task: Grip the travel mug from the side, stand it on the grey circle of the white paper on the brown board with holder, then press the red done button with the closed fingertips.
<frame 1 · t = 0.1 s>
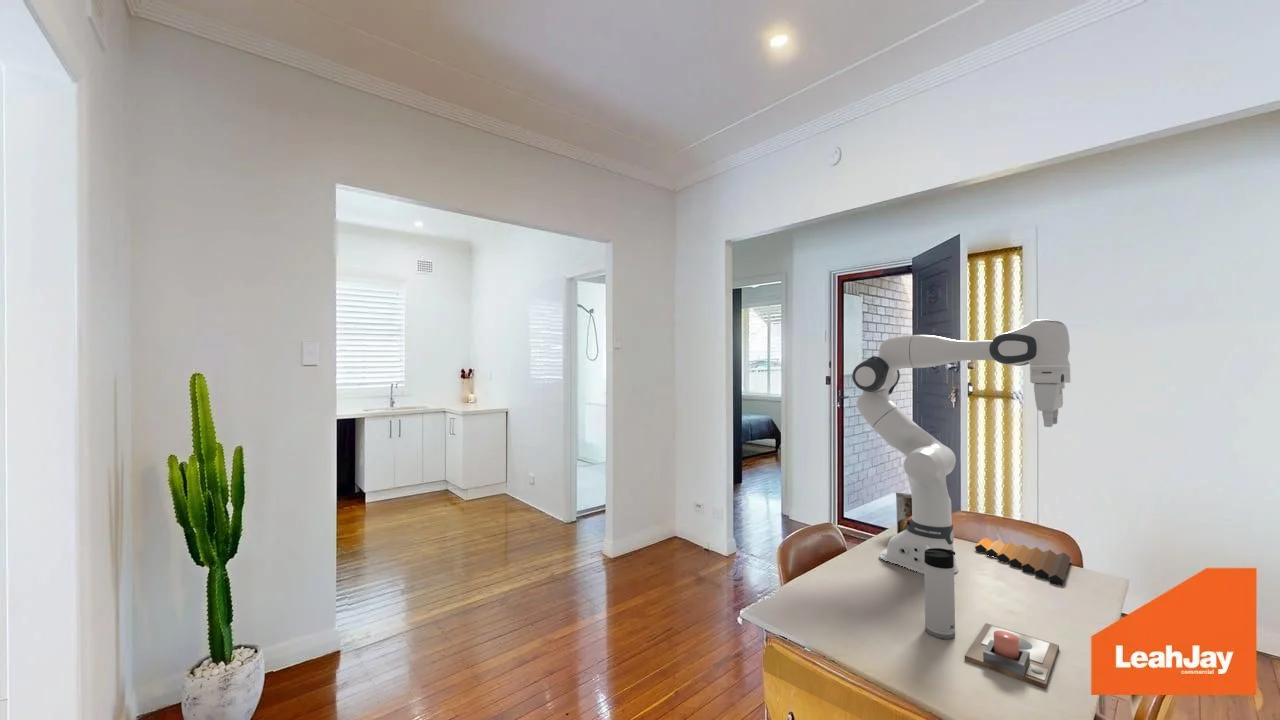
hand: (1050, 425, 141), 48 cm above the table, tool pointing down, fingers open, 8 cm apart
brown board with holder: (1012, 654, 112), on the table
travel mug: (940, 633, 121), on the table
pan flute: (1018, 565, 164), on the table
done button: (1006, 645, 107), point 5 cm above the table, slide at 0.0 cm
coffee box: (910, 538, 188), on the table
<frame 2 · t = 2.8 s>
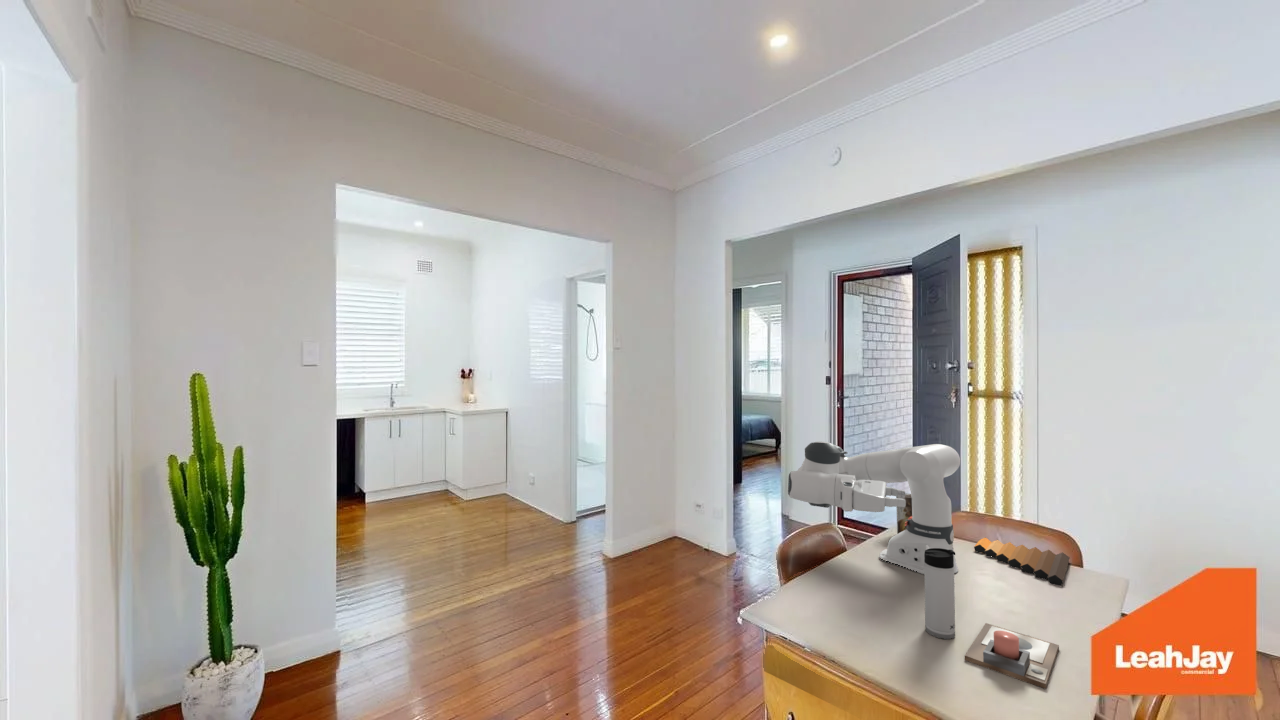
hand: (905, 498, 129), 31 cm above the table, tool horizontal, fingers open, 8 cm apart
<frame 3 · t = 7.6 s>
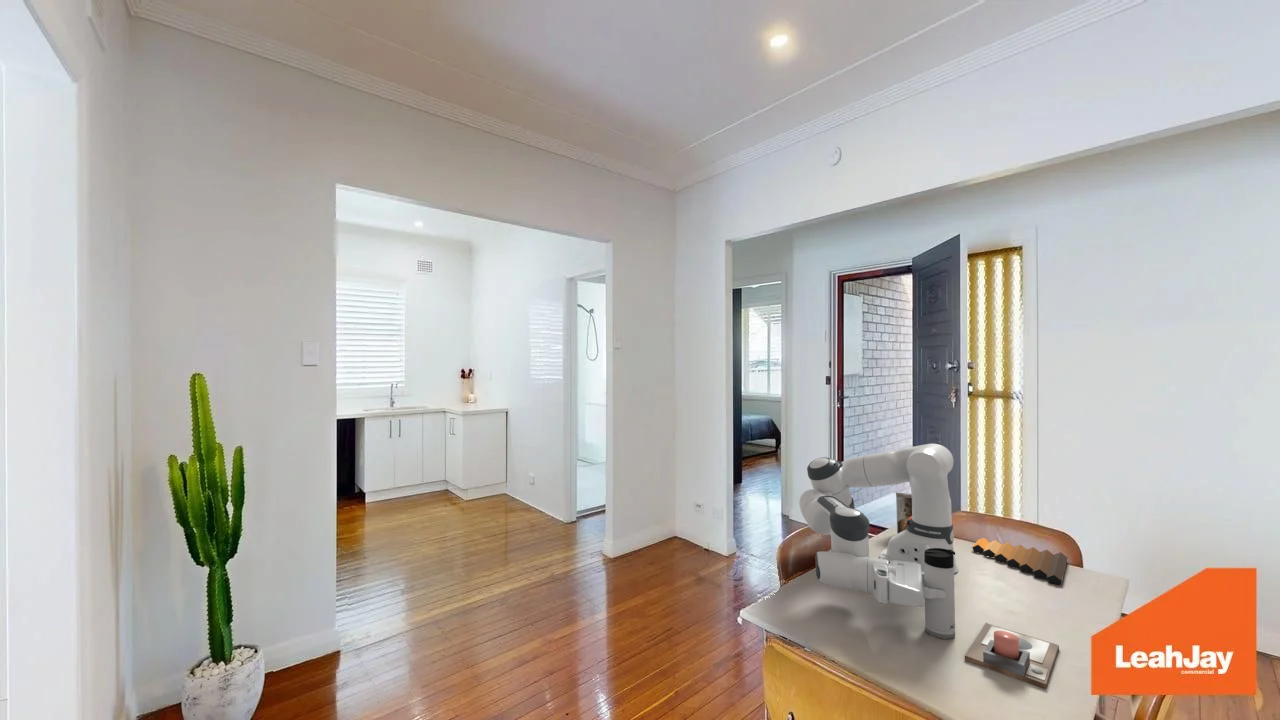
hand: (944, 587, 121), 11 cm above the table, tool horizontal, fingers closed on travel mug, 6 cm apart
travel mug: (940, 633, 121), on the table, touching gripper
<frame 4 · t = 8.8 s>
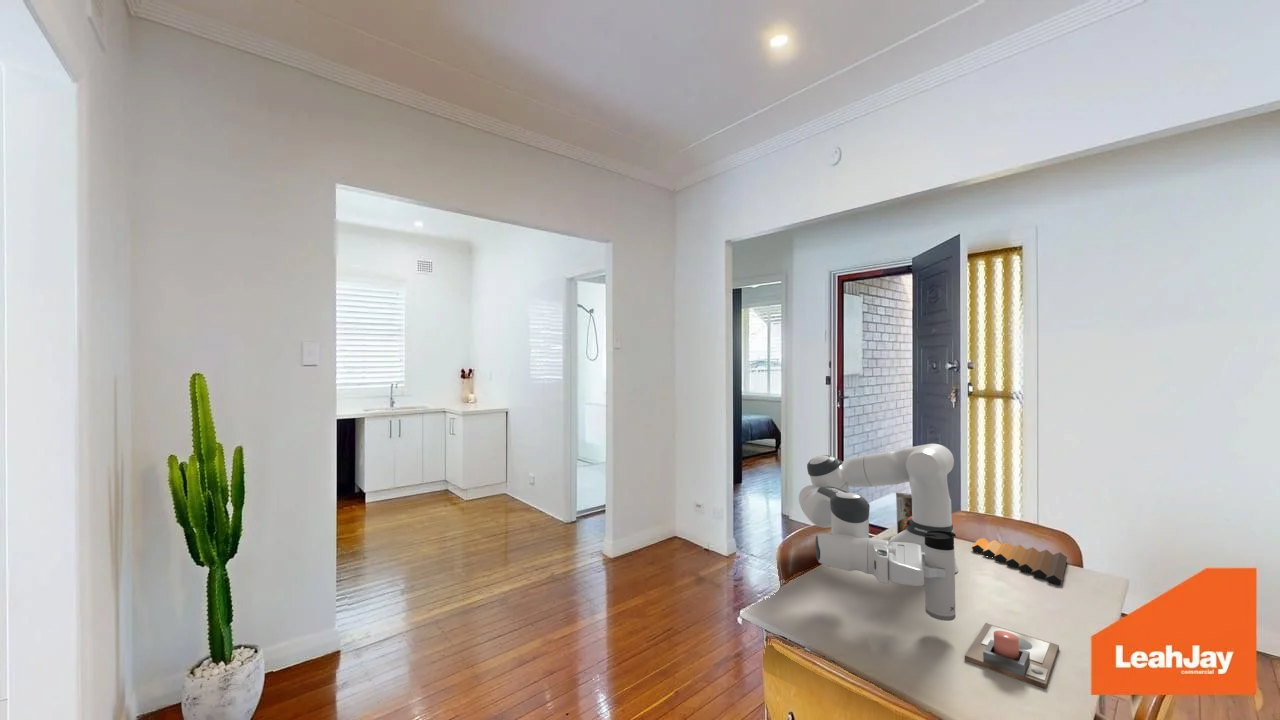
hand: (944, 567, 121), 16 cm above the table, tool horizontal, fingers closed on travel mug, 6 cm apart
travel mug: (941, 615, 121), point 4 cm above the table, touching gripper
when the fingers open (14 cm above the table, at t = 13.3 s): travel mug stays where it is, resting on brown board with holder.
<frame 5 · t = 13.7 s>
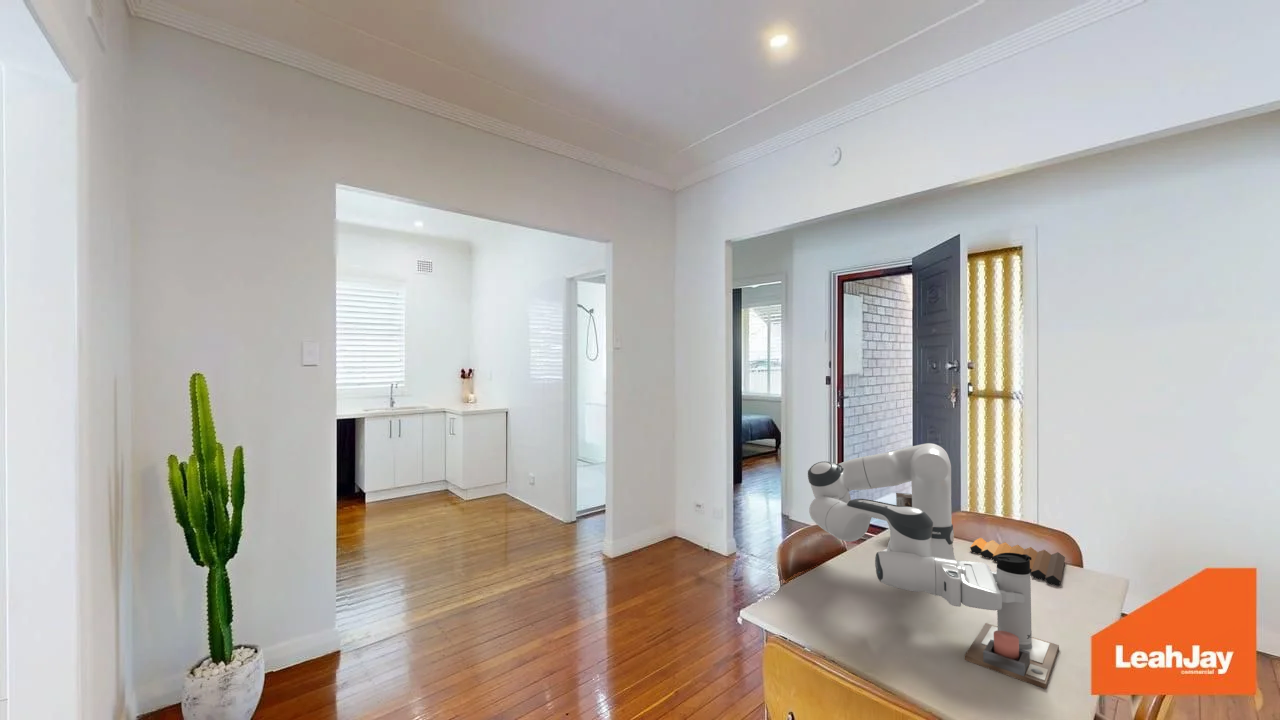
hand: (1019, 589, 114), 13 cm above the table, tool horizontal, fingers open, 8 cm apart
travel mug: (1015, 643, 114), point 1 cm above the table, touching brown board with holder
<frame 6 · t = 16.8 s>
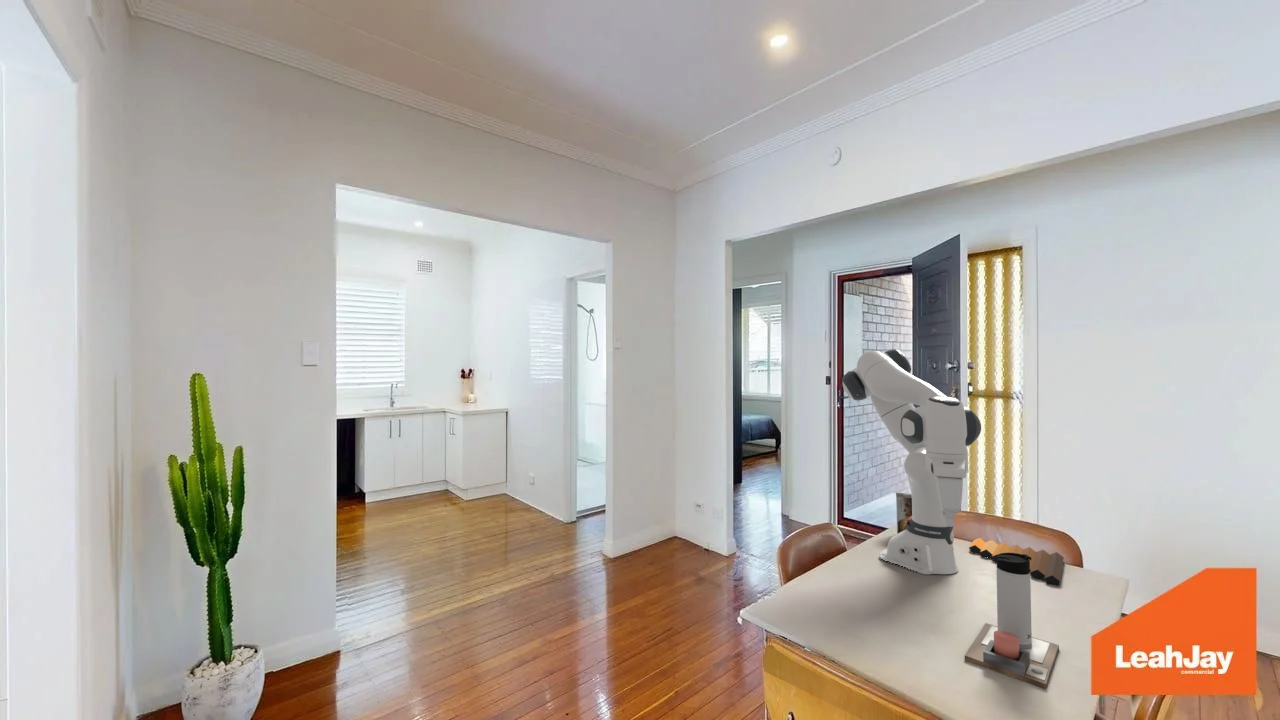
hand: (948, 520, 121), 27 cm above the table, tool pointing down, fingers open, 7 cm apart
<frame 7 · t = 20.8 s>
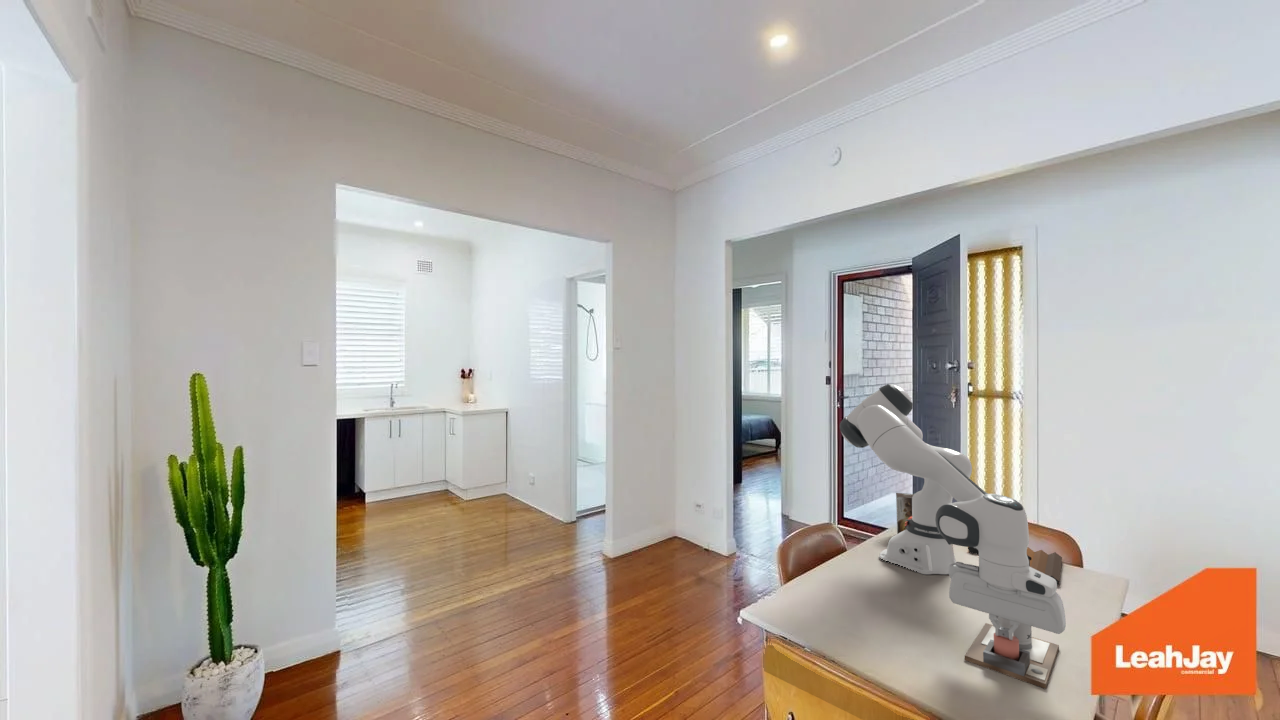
hand: (1004, 637, 107), 6 cm above the table, tool pointing down, fingers closed, pressing on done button
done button: (1006, 646, 107), point 4 cm above the table, slide at 0.3 cm, touching gripper
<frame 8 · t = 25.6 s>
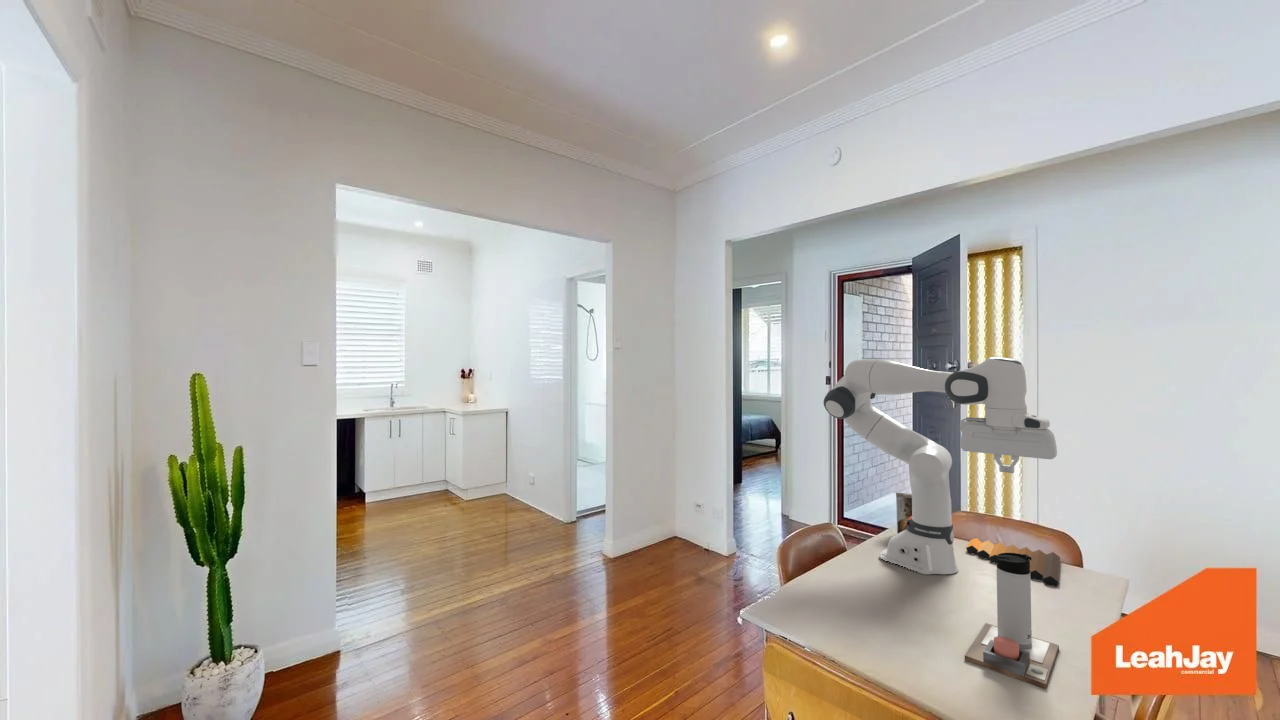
hand: (1006, 472, 130), 37 cm above the table, tool pointing down, fingers closed
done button: (1006, 651, 107), point 3 cm above the table, slide at 1.3 cm
at the end: travel mug inside the target area on the brown board with holder (0.1 cm from its centre), point 1.0 cm above the brown board with holder's base; travel mug tilted 0°; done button slide at 1.3 cm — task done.
